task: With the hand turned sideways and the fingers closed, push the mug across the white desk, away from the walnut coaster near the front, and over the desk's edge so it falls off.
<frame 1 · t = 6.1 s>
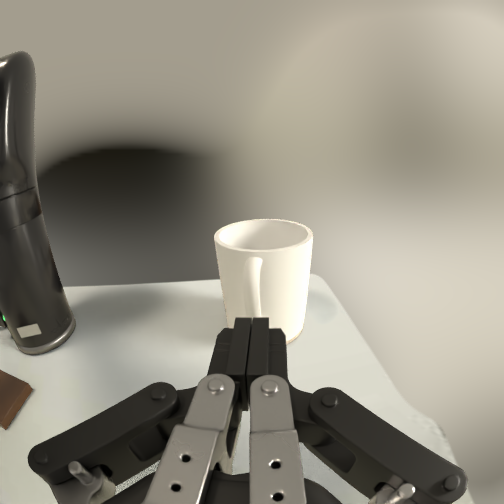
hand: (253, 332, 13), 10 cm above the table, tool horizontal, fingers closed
mug: (264, 332, 29), on the table
coaster: (3, 400, 16), on the table
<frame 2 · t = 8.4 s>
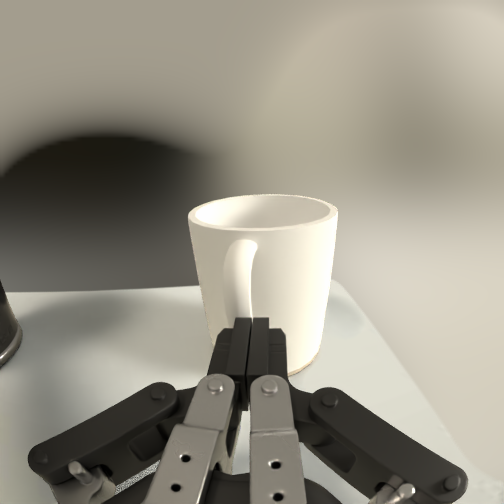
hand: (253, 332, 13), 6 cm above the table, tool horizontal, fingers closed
mug: (264, 354, 20), on the table, touching gripper
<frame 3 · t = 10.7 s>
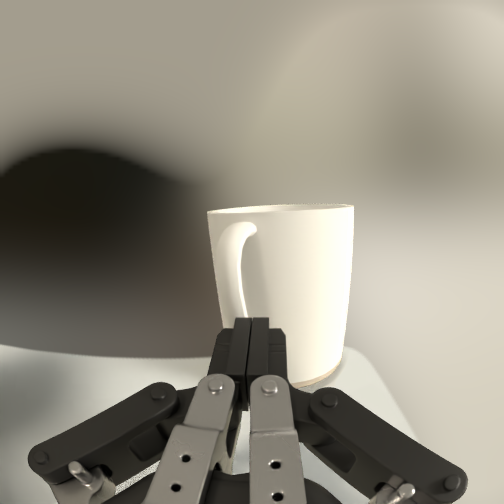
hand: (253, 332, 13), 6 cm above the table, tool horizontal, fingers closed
mug: (279, 365, 18), on the table
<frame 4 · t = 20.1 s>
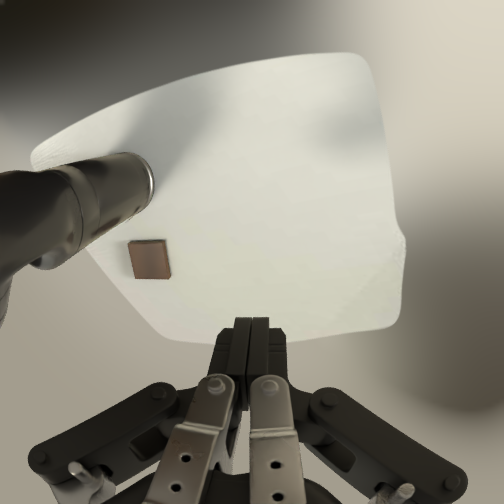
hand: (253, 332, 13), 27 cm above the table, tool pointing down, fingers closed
coaster: (150, 259, 42), on the table
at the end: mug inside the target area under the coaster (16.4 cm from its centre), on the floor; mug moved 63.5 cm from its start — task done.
